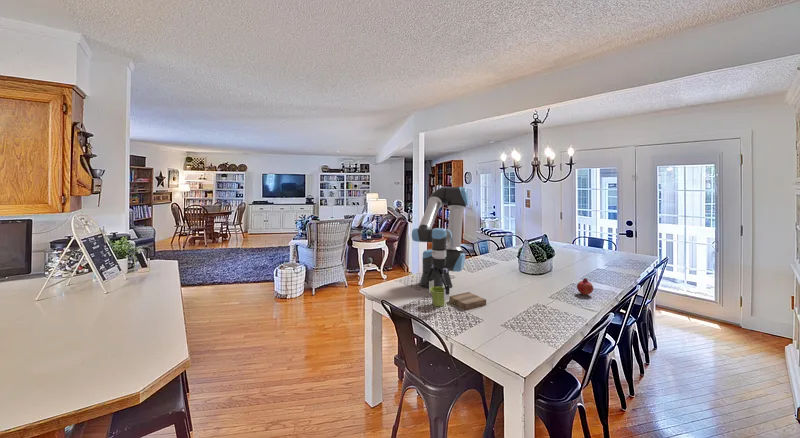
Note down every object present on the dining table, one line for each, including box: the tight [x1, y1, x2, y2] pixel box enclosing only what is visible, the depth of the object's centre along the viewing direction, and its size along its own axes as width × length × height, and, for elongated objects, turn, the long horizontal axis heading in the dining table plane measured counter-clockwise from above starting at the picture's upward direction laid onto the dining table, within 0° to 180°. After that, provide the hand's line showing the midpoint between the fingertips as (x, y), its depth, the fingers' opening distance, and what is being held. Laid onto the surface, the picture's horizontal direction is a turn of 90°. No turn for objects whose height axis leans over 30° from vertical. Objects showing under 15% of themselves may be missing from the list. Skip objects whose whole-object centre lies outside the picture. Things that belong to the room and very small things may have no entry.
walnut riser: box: [448, 291, 487, 311], centre depth 171 cm, size 14×14×3 cm
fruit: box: [576, 277, 594, 296], centre depth 182 cm, size 8×8×10 cm
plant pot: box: [430, 286, 446, 308], centre depth 168 cm, size 9×9×9 cm
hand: (438, 296), depth 168 cm, fingers open, 13 cm apart
